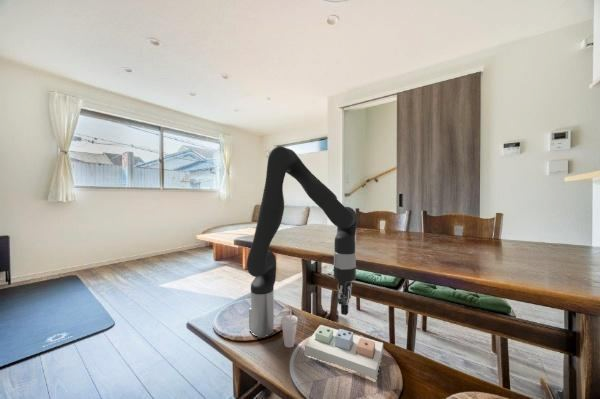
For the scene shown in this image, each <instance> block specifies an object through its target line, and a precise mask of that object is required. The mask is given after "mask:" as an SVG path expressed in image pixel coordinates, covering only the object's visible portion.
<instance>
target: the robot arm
mask: <svg viewBox="0 0 600 399" xmlns="http://www.w3.org/2000/svg"><path fill="white" fill-rule="evenodd" d="M266 166H267V167H266V172H265V173H266V174H265V184H264V189H263V193H262V197H261V198H262V199H261V203H260V208H259V211H258V216H257V222H256V227H255V231H254V236H253V241H252V243H251V246H250V250H249V253H248V254H247V255H248V256H247V260H246V269H247V271H248V274H249V275H250V276H252V277H254V279H253V280H252V282H251V283H250V308H248V330H249V329H250V330H251V331H252V333H254V334H255V335H257V336H259V337H258V338H265V337H264V336H266V335H269V334H270V333H271V332H272V331H273V328H275V324H274V323H275V322H274V320H275V318H274V317H275V315H274V314H275V313H274V312H275V311H274V310H275V306H274V305H275V304H274V300H275V299H274V298H275V297H274V295H275V293H274V290H275V289H274V286H275V282H276V278H277V276H276V275H277V258H276V256H275V254H274V252H273V251H272V250H271V249H269V248H270V245H271V243H272V241H273V239H274V237H275V236H276V234H277V232H278V230H279V228H280V226H281V223H282V220H283V216H284V210H285V198H284V193H283V192H284V191H283V189H284V188H283V187H284V180H285V177H286V174H288V175H290V176H291V177H292V178H293V179H295V180H296V181H297V182H298V183H299V184H300V186H301V187H302V188H303V190H304V192H305V193H306V194H307V196H308V197H309V199H311V201H312V202H314V204H316V205H317V206H318V208H320V209H321V210H322V211H323V213H324V214H325V215H326V217H327V218H328V220H329V221H330V222H331V223H332V224H333V225H334V226H335V227H337V228H336V230H337V231H336V235H335V237H334V254H333V278H334V279H335V280H337V282H338V283H337V291H338V292H335V299H336V301H337V304H338V305H340V314H341V315H344V316H348V314H349V303H350V300H351V298H352V291H353V286H354V282H353V281H355V280H356V279H357V277H356V276H357V264H356V263H357V259H356V258H357V257H356V256H357V255H356V231H357V223H358V219H357V216H358V215H357V213H356V211H355V210H354V209H353V208H352V207H350V206H345V205H343V203H341V202H340V200H338V197H337V196H336V194H335V193H334V192H333V191H332V190H331V189H330V188H328V187H327V185H325V184H324V183H323V182H322V181H321V180H320V179H319V178H318V177H317V176H315V175H314V174H313V173H312V172H311V171H310V169H308V168H307V166H306V165H305V164H304V163H303V161H302V159H300V157H299V156H298V155H297V153H296V152H295V151H294V150H293V149H290V148H287V147H284V146H281V145H277V146H275V147H273V148H272V149H271V150H270V152H269V155H268V158H267V165H266ZM273 332H274V331H273ZM252 333H251V334H252ZM269 336H270V335H269Z"/></svg>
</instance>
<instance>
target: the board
mask: <svg viewBox="0 0 600 399" xmlns="http://www.w3.org/2000/svg"><path fill="white" fill-rule="evenodd" d="M320 326H322V327H326V328H329V329H332V330H333V339H332V340H331V342H330V343H329V344H326V343H322V342H319V341H316V340H315V333H316V332H317V330H318V329H319V328H320ZM338 331H339V329H338V328H337V329H336V328H334V327H331V326H326V325H322V324H320V325H319V326H318V327H317V329H316V330H315V331H314V333H313V334H312V335H311V336H310V338H309V339H308V340H307V342H306V343H305V344H304V356H305V355H307V356H311V357H314V358H317V359H319V360H322V361H326V362H329V363H333V364H337V365H339V366H342V367H345V368H348V369H351V370H354V371H357V372H360V373H362V374H365V375H367V376H369V377H370V378H373V379H375V380H376V378H377V379H378V377H377V374H378V375H379V373H378V370H379V371H380V369H379V366H380V367H381V364H380V361H381V362H382V360H381V357H382V358H383V356H382V353H383V354H384V342H382V341H377V340H375V339H371V338H369V337H368V338H367V337H364V336H360V335H357V334H354V333H353V346H352V348H351V350H350V351H347V350H344V349H341V348H338V347H335V336H336V334H337V332H338ZM360 338H363V339H366V340H370V341H373V342H375V354H374V357H373V359H371V358H368V357H365V356H362V355H359V354H357V344H358V342H359V340H360Z"/></svg>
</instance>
